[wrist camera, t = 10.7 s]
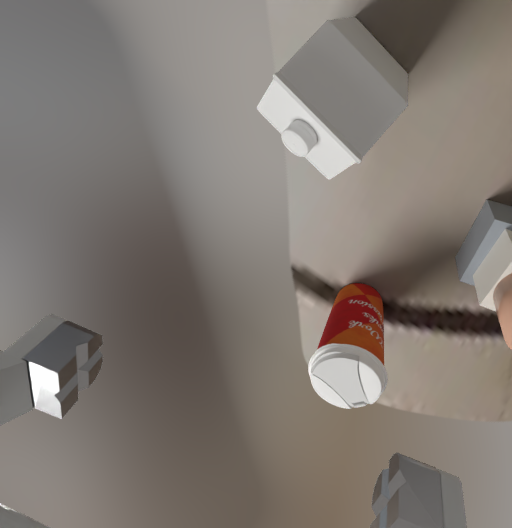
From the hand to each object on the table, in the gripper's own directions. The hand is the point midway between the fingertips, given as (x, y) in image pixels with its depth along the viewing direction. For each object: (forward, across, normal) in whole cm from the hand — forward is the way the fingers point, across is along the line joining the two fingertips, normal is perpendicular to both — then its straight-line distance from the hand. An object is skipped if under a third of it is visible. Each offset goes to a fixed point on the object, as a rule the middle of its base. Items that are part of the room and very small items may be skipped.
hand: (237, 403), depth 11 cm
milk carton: (+37, +2, -3) cm, 37 cm away
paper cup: (+37, -7, +21) cm, 43 cm away
